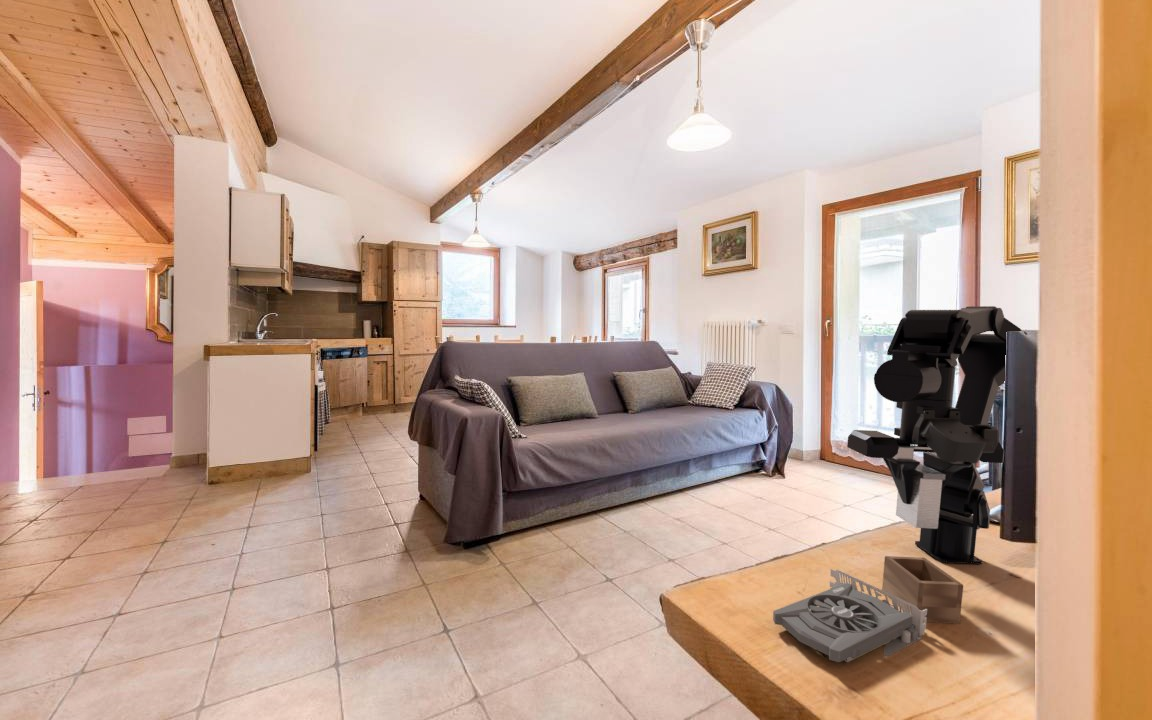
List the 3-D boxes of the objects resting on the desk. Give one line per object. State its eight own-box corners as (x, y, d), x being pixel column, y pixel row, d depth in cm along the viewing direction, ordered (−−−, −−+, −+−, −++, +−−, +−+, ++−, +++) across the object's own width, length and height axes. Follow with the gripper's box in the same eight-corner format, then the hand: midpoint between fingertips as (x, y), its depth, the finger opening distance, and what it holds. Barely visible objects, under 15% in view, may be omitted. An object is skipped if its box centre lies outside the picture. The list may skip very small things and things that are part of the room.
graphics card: (835, 564, 68) (930, 608, 57) (834, 590, 68) (929, 638, 57) (750, 594, 60) (842, 651, 49) (749, 623, 60) (841, 686, 50)
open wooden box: (921, 592, 67) (924, 557, 66) (959, 623, 60) (963, 585, 59) (882, 590, 67) (884, 556, 66) (915, 621, 60) (919, 583, 60)
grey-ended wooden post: (893, 513, 73) (898, 462, 72) (913, 514, 73) (918, 462, 72) (918, 529, 67) (923, 473, 67) (940, 530, 67) (945, 474, 66)
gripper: (896, 404, 61) (886, 524, 62) (1047, 410, 60) (1034, 530, 61) (849, 392, 72) (841, 493, 73) (976, 396, 71) (966, 499, 73)
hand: (917, 503), depth 70 cm, fingers closed on grey-ended wooden post, 3 cm apart
